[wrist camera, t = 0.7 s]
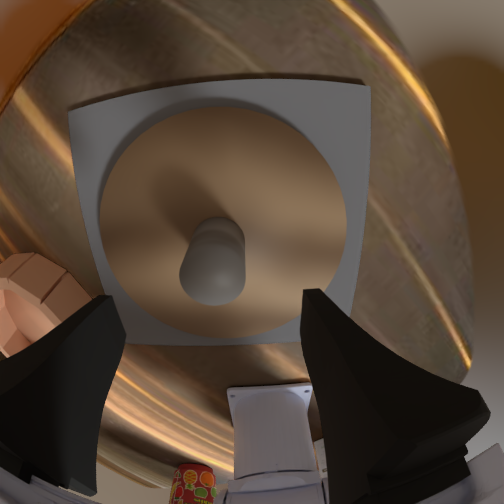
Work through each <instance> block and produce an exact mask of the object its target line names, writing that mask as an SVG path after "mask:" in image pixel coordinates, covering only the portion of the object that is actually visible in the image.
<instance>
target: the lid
mask: <svg viewBox="0 0 504 504" xmlns="http://www.w3.org/2000/svg"><path fill="white" fill-rule="evenodd" d="M346 229H347V219H346V210H345V203H344V199H343V196H342V192H341V189H340V186H339V184H338V181H337V179H336V177H335V175H334V173H333V171H332V169H331V168H330V166H329V165H328V163H327V161H326V160H325V158H324V157H323V156H322V155H321V153H320V152H319V151H318V150H317V149H316V148H315V146H314V145H313V144H312V143H310V142H309V141H308V140H307V139H306V138H305V137H304V136H303V135H301V134H300V133H299V132H297V131H296V130H294V129H293V128H291V127H290V126H288V125H287V124H285V123H283V122H281V121H279V120H277V119H275V118H273V117H270V116H268V115H266V114H262V113H259V112H255V111H252V110H248V109H242V108H234V107H206V108H200V109H194V110H189V111H186V112H183V113H179V114H176V115H173V116H171V117H169V118H167V119H165V120H163V121H161V122H159V123H157V124H155V125H154V126H152V127H151V128H149V129H148V130H146V131H145V132H144V133H142V134H141V135H140V136H139V137H138V138H137V139H136V140H134V141H133V142H132V143H131V144H130V145H129V146H128V147H127V149H126V150H125V151H124V153H123V154H122V155H121V156H120V158H119V159H118V161H117V162H116V164H115V166H114V168H113V169H112V171H111V173H110V175H109V178H108V180H107V183H106V185H105V188H104V192H103V196H102V201H101V207H100V235H101V240H102V245H103V249H104V253H105V256H106V259H107V262H108V264H109V266H110V268H111V270H112V272H113V274H114V276H115V277H116V279H117V281H118V282H119V284H120V285H121V287H122V288H123V289H124V290H125V292H126V293H127V294H128V295H129V297H130V298H131V299H132V300H133V301H134V302H135V303H136V304H138V305H139V306H140V307H141V308H142V309H143V310H145V311H146V312H147V313H149V314H150V315H151V316H153V317H154V318H156V319H158V320H159V321H161V322H163V323H165V324H167V325H169V326H171V327H173V328H175V329H178V330H181V331H184V332H187V333H190V334H194V335H199V336H204V337H212V338H239V337H247V336H252V335H257V334H260V333H264V332H267V331H270V330H273V329H275V328H277V327H280V326H282V325H284V324H286V323H287V322H289V321H291V320H293V319H294V318H296V317H297V316H299V315H300V314H301V309H302V296H303V289H314V288H320V289H321V290H322V291H323V292H324V291H325V290H326V288H327V286H328V285H329V283H330V282H331V280H332V279H333V277H334V275H335V273H336V271H337V269H338V266H339V264H340V261H341V258H342V255H343V252H344V246H345V241H346Z"/></svg>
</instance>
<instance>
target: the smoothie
mask: <svg viewBox="0 0 504 504" xmlns="http://www.w3.org/2000/svg"><path fill="white" fill-rule="evenodd" d="M215 497H216V476H215V475H214V474H213V470H212V469H211V468H209V467H207V466H204V465H199V464H190V463H187V464H181V465H179V467H178V470H176V471H175V473H174V478H173V484H172V489H171V494H170V500H169V504H213V501H214V499H215Z"/></svg>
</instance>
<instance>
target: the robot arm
mask: <svg viewBox="0 0 504 504" xmlns="http://www.w3.org/2000/svg"><path fill="white" fill-rule="evenodd" d="M126 335H127V334H126V332H125V329H124V327H123V324H122V322H121V319H120V316H119V314H118V311H117V308H116V305H115V303H114V300H113V297H112V295H99V296H97V297H95V298H94V299H92V300H91V301H89V302H88V303H87V304H85V305H84V306H83V307H81V308H80V309H79V310H77V311H76V312H75V313H73V314H72V315H71V316H69V317H68V318H67V319H66V320H64V321H63V322H62V323H60V324H59V325H58V326H56V327H55V328H54V329H52V330H51V331H50V332H48V333H47V334H46V335H44V336H43V337H41V338H40V339H39V340H37V341H36V342H34V343H33V344H31V345H29V346H28V347H26V348H25V349H23V350H21V351H19V352H18V353H16V354H14V355H12V356H10V357H8V358H6V359H4V360H2V361H0V504H101V503H98V502H94V501H92V500H89V499H86V498H83V497H80V496H78V495H75V494H73V493H70V492H68V491H66V490H63V489H61V488H59V486H61V487H63V488H65V489H71V490H73V491H76V492H79V493H81V494H84V495H87V496H90V497H91V496H94V495H95V494H96V493H97V487H96V456H97V443H98V435H99V428H100V422H101V417H102V412H103V408H104V404H105V401H106V398H107V395H108V392H109V389H110V387H111V384H112V381H113V378H114V376H115V373H116V370H117V368H118V365H119V362H120V359H121V357H122V353H123V349H124V345H125V340H126ZM300 338H301V345H302V351H303V356H304V359H305V363H306V366H307V370H308V373H309V377H310V380H311V383H309V382H307V383H298V384H287V385H274V386H258V387H231V388H228V389H227V397H228V402H229V407H230V412H231V417H232V422H233V427H234V480H229V481H228V489H222V490H221V491H220V492H219V494H218V495H217V496H216V497H215V499H214V501H213V504H504V453H503V451H502V449H501V447H500V445H499V443H496V444H494V445H493V446H491V447H490V448H489V449H487V450H485V451H484V452H482V453H481V454H479V455H477V456H476V457H474V458H473V459H471V460H470V461H468V462H467V463H466V461H465V458H464V456H465V455H466V454H468V450H467V447H466V445H465V444H466V443H467V442H468V441H469V440H470V439H471V438H472V437H473V436H474V435H476V433H478V432H479V431H480V429H482V427H483V426H484V425H485V424H486V423H487V421H488V420H489V418H490V413H491V412H490V410H489V409H488V407H487V405H486V403H485V402H484V400H483V398H482V397H481V395H480V393H479V391H478V390H475V389H472V388H469V387H466V386H463V385H460V384H457V383H454V382H451V381H448V380H446V379H444V378H441V377H439V376H437V375H434V374H432V373H430V372H428V371H426V370H424V369H422V368H420V367H418V366H416V365H414V364H412V363H411V362H409V361H407V360H405V359H404V358H402V357H400V356H399V355H397V354H396V353H394V352H393V351H391V350H390V349H388V348H387V347H385V346H384V345H382V344H381V343H380V342H378V341H377V340H376V339H374V338H373V337H372V336H370V335H369V334H368V333H367V332H366V331H364V330H363V329H362V328H361V327H360V326H358V325H357V324H356V323H355V322H354V321H353V320H352V319H351V318H350V317H348V316H347V315H346V314H345V313H344V312H343V311H342V310H341V309H340V308H339V307H338V306H337V305H336V304H335V303H334V302H333V301H332V300H331V299H330V298H329V297H328V296H327V295H326V294H325V293H324V292H323V291H322V290H321V289H320V288H314V289H303V296H302V309H301V321H300ZM312 389H313V391H314V394H315V398H316V401H317V405H318V409H319V413H320V420H321V426H322V433H323V440H324V448H325V456H326V465H327V476H328V477H325V478H322V479H321V480H320V474H319V471H318V470H317V468H316V462H315V456H314V450H313V445H312V439H311V434H310V428H309V423H308V417H307V412H308V407H309V403H310V398H311V393H312ZM321 482H322V486H321Z"/></svg>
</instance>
